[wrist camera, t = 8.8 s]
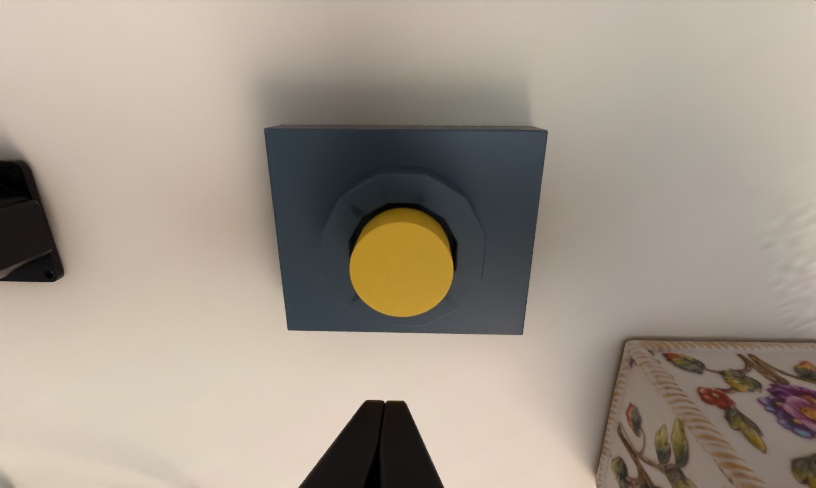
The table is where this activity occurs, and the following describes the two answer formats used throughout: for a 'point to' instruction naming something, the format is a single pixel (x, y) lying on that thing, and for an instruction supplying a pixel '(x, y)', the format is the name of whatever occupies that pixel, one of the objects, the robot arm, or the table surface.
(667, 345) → the decorative jar
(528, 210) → the blue button base
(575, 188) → the table surface
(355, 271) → the button
